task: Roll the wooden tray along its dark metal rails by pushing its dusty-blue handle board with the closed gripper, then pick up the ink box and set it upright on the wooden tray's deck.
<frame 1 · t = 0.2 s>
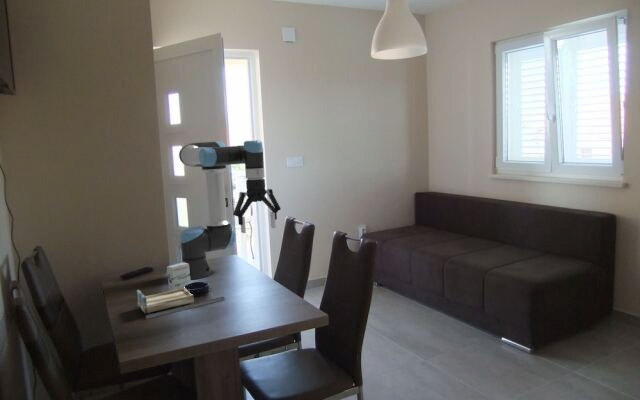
hand: (258, 230, 190), 28 cm above the table, fingers open, 13 cm apart
track: (181, 303, 188), on the table
ink box: (180, 291, 205), on the table
wooden tray: (165, 297, 185), point 4 cm above the table, slide at 0.0 cm
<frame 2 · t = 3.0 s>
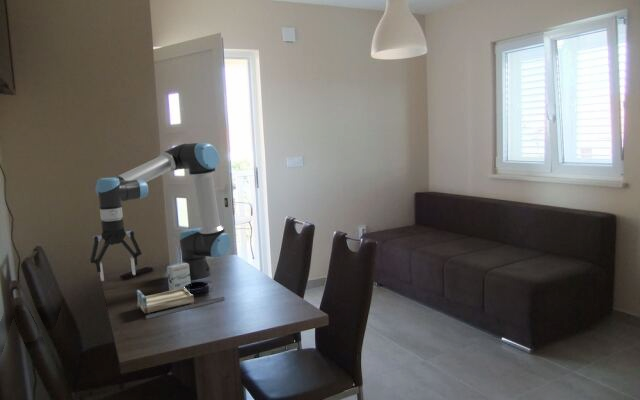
hand: (118, 277, 174), 16 cm above the table, fingers open, 10 cm apart
nothing on the table moved.
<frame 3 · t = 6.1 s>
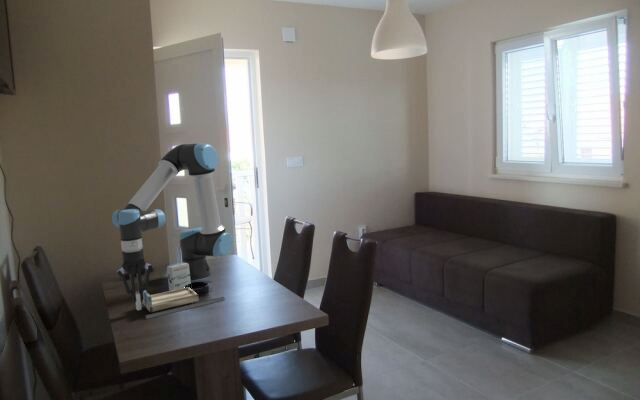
hand: (138, 308, 180), 2 cm above the table, fingers closed
wooden tray: (170, 296, 186), point 4 cm above the table, slide at 1.9 cm, touching gripper
everything else where it was.
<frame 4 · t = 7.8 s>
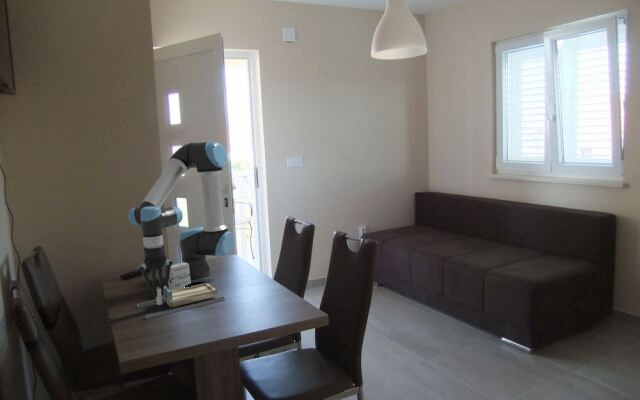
hand: (159, 303, 184), 2 cm above the table, fingers closed
wooden tray: (189, 292, 190), point 4 cm above the table, slide at 9.7 cm, touching gripper
everything else where it was.
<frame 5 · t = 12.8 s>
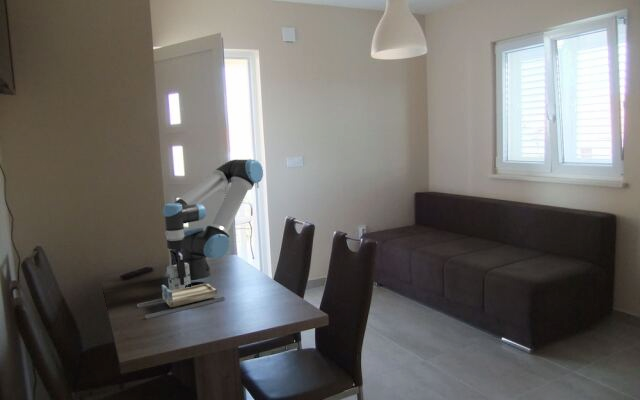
hand: (180, 289, 205), 0 cm above the table, fingers closed on ink box, 6 cm apart
ink box: (180, 291, 205), on the table, touching gripper
wooden tray: (189, 292, 190), point 4 cm above the table, slide at 9.7 cm
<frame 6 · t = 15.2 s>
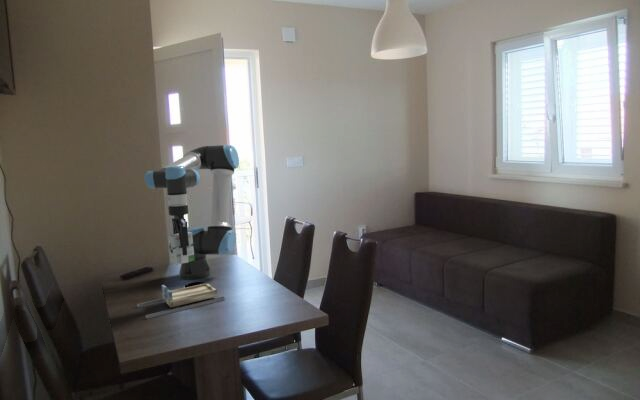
hand: (182, 261, 188), 17 cm above the table, fingers closed on ink box, 6 cm apart
ink box: (182, 262, 188), point 17 cm above the table, touching gripper
everything else where it was.
when the fingers open (5 cm above the table, at t = 17.7 s): ink box drops 1 cm, resting on wooden tray.
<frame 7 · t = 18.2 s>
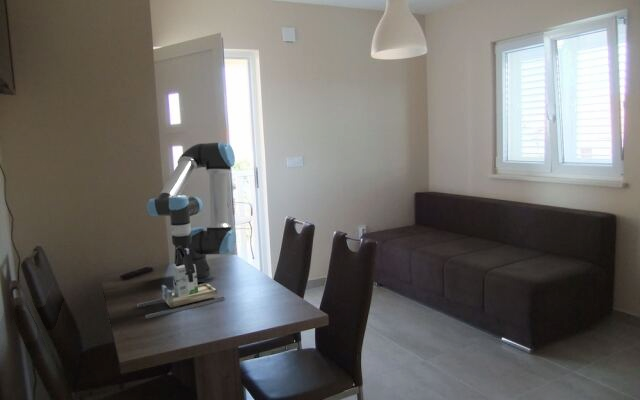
hand: (186, 285, 189), 7 cm above the table, fingers open, 12 cm apart
ink box: (186, 294, 190), point 3 cm above the table, touching wooden tray
wooden tray: (189, 292, 190), point 4 cm above the table, slide at 9.7 cm, touching ink box
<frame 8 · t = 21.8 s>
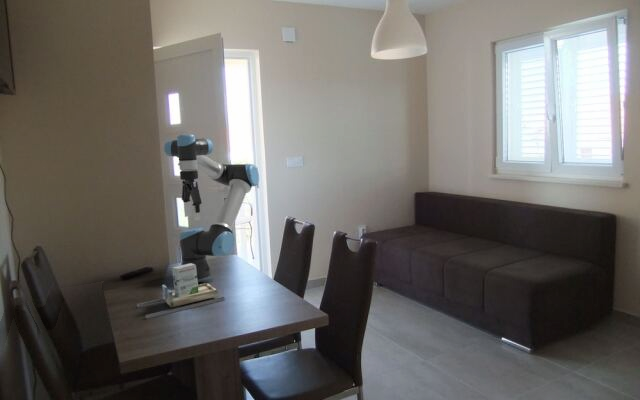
hand: (192, 218, 204), 32 cm above the table, fingers open, 13 cm apart
nothing on the table moved.
at the end: wooden tray slide at 9.8 cm; ink box inside the target area on the wooden tray (1.3 cm from its centre), point 3.3 cm above the wooden tray's base; ink box tilted 0° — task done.
